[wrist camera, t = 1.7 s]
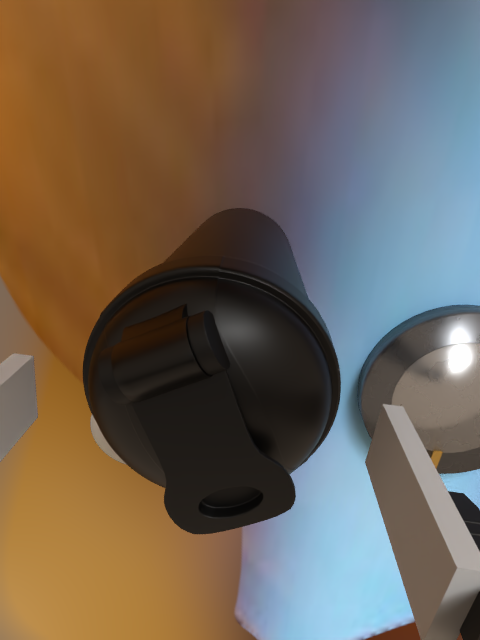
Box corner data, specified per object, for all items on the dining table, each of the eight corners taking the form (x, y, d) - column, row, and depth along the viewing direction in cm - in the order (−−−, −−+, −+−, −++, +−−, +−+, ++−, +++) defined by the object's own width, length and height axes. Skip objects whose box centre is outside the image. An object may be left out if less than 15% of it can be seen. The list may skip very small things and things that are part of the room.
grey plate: (382, 292, 35) (389, 301, 33) (575, 319, 35) (593, 329, 33) (340, 446, 41) (344, 461, 39) (503, 469, 41) (515, 485, 39)
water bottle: (210, 334, 38) (135, 585, 16) (157, 227, 34) (-24, 368, 13) (319, 293, 35) (396, 520, 14) (275, 175, 32) (289, 242, 11)
